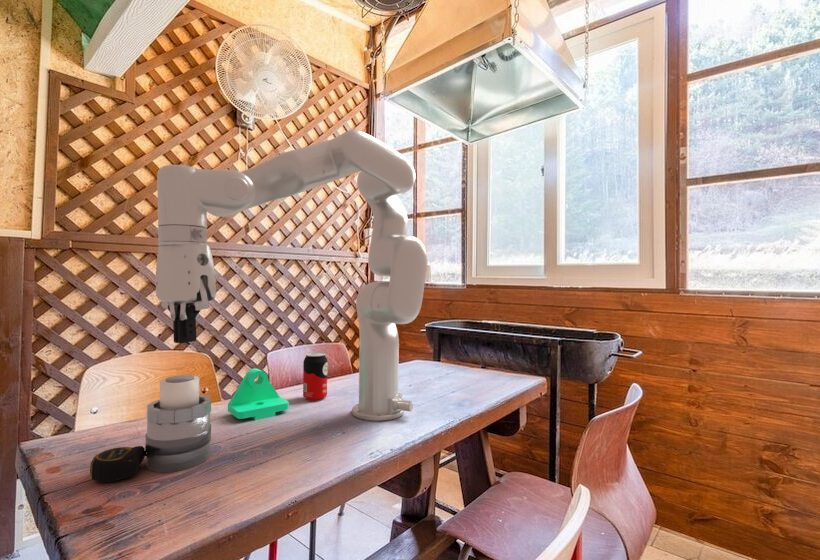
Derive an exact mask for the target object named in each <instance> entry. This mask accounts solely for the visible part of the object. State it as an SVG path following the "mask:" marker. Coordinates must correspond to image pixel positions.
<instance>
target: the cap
mask: <svg viewBox="0 0 820 560" xmlns="http://www.w3.org/2000/svg"><path fill="white" fill-rule="evenodd" d="M199 395H200V377H199V376H197V375H192V374H181V375H173V376H169V377H167V378H163V379H161V380H160V381H159V400H160V409H162V410H167V409H181V408H188V407H192V406H195V405H199Z"/></svg>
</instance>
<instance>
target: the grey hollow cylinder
mask: <svg viewBox="0 0 820 560" xmlns="http://www.w3.org/2000/svg"><path fill="white" fill-rule="evenodd" d="M211 411H212V399H211V398H210V396H208V395H203V394H199V405H195V406H192V407H188V408H181V409H167V410H162V409H160V399H157V400H154V401H152V402H150V403H149V404H147V405H146V421H147V423H146V424H147V425H146V433H145V437H144V438H145V441H144V442H145V443H144V445H145V447H144V449H145V451H146V454H147V456H146V464H145V465H146V469H147V470H148V471H151V472H153V473H154V472H155V473H174V472H179V471H185V470H189V469H191V468H195V467H197V466H199V465H201V464H203V463H205V462H206V461H207V460H208V459H209V458H210V454H211V453H210V445H211V444H210V442H211V441H212V424H211Z"/></svg>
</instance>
